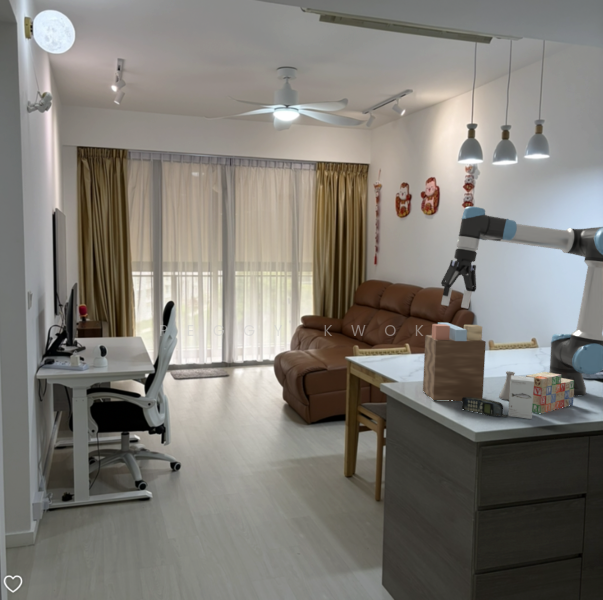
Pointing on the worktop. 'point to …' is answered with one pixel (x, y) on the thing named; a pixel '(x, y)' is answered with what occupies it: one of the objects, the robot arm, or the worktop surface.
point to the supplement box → (521, 397)
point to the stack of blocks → (551, 392)
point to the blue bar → (457, 332)
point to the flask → (506, 386)
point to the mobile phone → (483, 406)
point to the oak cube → (473, 332)
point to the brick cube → (440, 331)
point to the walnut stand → (453, 369)
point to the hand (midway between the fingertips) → (454, 306)
